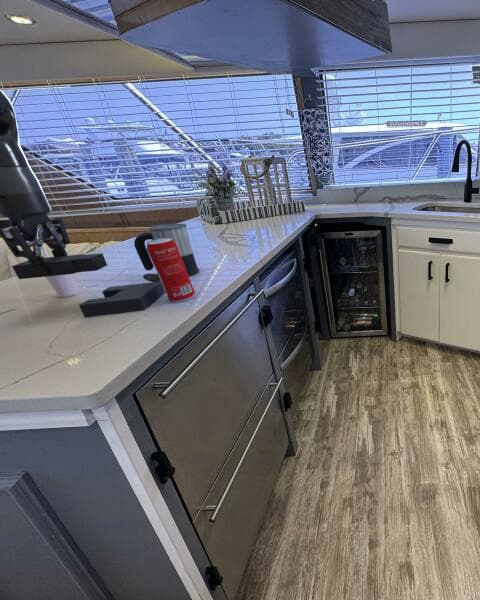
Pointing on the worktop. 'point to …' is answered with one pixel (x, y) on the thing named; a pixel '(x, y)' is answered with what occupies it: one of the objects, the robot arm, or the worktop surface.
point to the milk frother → (178, 236)
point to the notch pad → (123, 299)
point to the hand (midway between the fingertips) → (54, 269)
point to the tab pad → (63, 265)
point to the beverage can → (170, 269)
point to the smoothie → (62, 282)
